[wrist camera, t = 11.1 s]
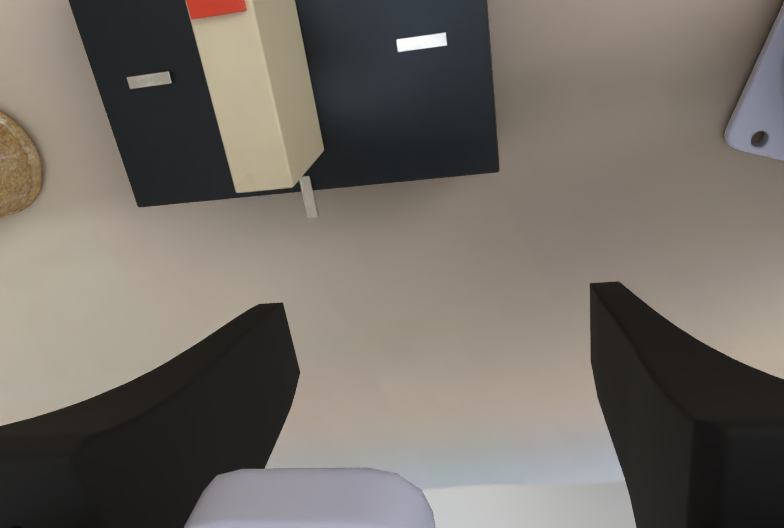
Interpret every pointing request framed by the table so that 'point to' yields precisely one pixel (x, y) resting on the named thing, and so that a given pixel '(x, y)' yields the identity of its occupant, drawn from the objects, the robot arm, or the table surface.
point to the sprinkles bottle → (17, 168)
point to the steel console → (330, 89)
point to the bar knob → (258, 89)
